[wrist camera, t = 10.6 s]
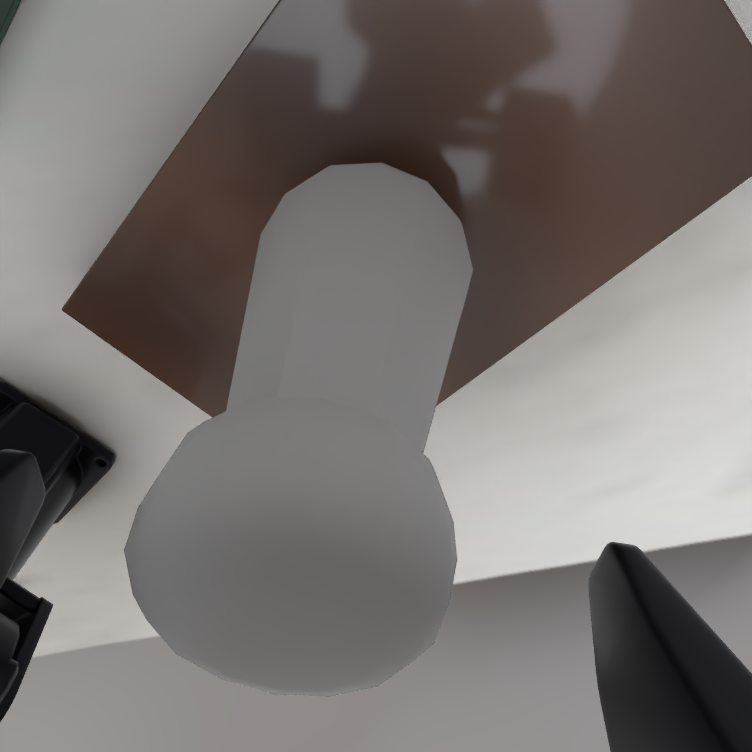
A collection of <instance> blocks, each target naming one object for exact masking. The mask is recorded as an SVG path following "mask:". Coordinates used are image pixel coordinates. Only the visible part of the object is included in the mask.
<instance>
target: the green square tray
mask: <svg viewBox="0 0 752 752" xmlns="http://www.w3.org/2000/svg"><path fill="white" fill-rule="evenodd" d="M19 2H20V0H0V43H1V41H2V39H3V37H4V35H5V33H6V30H7V28H8V26H9V24H10V22H11V20H12V17H13V15H14V13H15V11H16V9H17V7H18V4H19Z"/></svg>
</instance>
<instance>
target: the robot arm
mask: <svg viewBox="0 0 752 752" xmlns="http://www.w3.org/2000/svg"><path fill="white" fill-rule="evenodd" d="M114 462H115V456H114V455H113V454H112V453H111V452H110V451H108V450H107V449H105V448H104V447H102V446H101V445H99V444H98V443H96V442H94V441H93V440H91V439H90V438H88V437H87V436H85V435H83V434H82V433H80V432H79V431H77V430H76V429H74V428H72V427H71V426H69V425H68V424H66V423H65V422H63V421H61V420H60V419H58V418H57V417H55V416H54V415H52V414H51V413H49V412H47V411H46V410H44V409H43V408H41V407H40V406H38V405H36V404H35V403H33V402H32V401H30V400H29V399H27V398H25V397H24V396H22V395H21V394H19V393H18V392H16V391H15V390H13V389H11V388H10V387H8V386H7V385H5V384H4V383H2V382H0V722H1V720H2V719H3V717H4V716H5V714H6V712H7V711H8V709H9V707H10V706H11V704H12V702H13V700H14V698H15V696H16V694H17V692H18V689H19V686H20V684H21V682H22V679H23V677H24V675H25V672H26V670H27V667H28V665H29V663H30V660H31V658H32V655H33V653H34V650H35V648H36V646H37V643H38V641H39V638H40V636H41V633H42V631H43V629H44V626H45V624H46V621H47V619H48V617H49V614H50V612H51V609H52V607H53V604H52V603H50V602H49V601H47V600H46V599H44V598H43V597H41V598H38V597H37V596H35V595H34V594H32V593H31V592H29V591H28V590H26V589H25V588H23V587H22V586H20V585H19V584H17V583H16V582H14V581H13V579H14V577H15V576H16V575H17V573H18V572H19V571H20V569H21V568H22V566H23V565H24V564H25V562H26V561H27V559H28V558H29V557H30V555H31V554H32V552H33V551H34V550H35V548H36V547H37V545H38V544H39V543H40V541H41V540H42V538H43V537H44V536H45V534H46V533H47V531H48V530H49V529H50V527H51V526H52V525H53V524H54V523H58V522H59V521H60V520H61V519H62V518H63V517H64V516H65V515H66V514H67V513H68V512H69V511H70V510H71V509H72V508H73V507H74V506H75V505H76V503H77V502H78V501H79V500H80V499H81V498H82V497H83V496H84V495H85V494H86V493H87V492H88V491H89V490H90V489H91V488H92V487H93V486H94V485H95V484H96V483H97V482H98V481H99V480H100V479H101V478H102V477H103V476H104V475H105V474H106V473H107V472H108V471H109V470H110V468H111V467H112V465H113V464H114ZM588 588H589V599H590V610H591V621H592V632H593V643H594V653H595V665H596V674H597V683H598V690H599V694H600V700H601V706H602V711H603V715H604V721H605V726H606V731H607V735H608V741H609V746H610V751H611V752H752V673H751V672H750V671H749V670H748V669H747V668H746V667H745V666H744V665H743V663H742V662H741V661H740V660H739V659H738V658H737V657H736V656H735V654H734V653H733V652H732V651H731V650H730V649H729V648H728V647H727V646H726V644H725V643H724V642H723V641H722V640H721V639H720V638H719V637H718V635H717V634H716V633H715V632H714V631H713V630H712V629H711V628H710V627H709V625H708V624H707V623H706V622H705V621H704V620H703V619H702V618H701V617H700V615H699V614H698V613H697V612H696V611H695V610H694V609H693V608H692V606H691V605H690V604H689V603H688V602H687V601H686V600H685V599H684V598H683V596H682V595H681V594H680V593H679V592H678V591H677V590H676V589H675V588H674V586H673V585H672V584H671V583H670V582H669V581H668V580H667V579H666V577H665V576H664V575H663V574H662V573H661V572H660V571H659V570H658V569H657V568H656V567H655V565H654V564H653V563H652V562H651V561H650V560H649V558H648V557H647V556H646V555H645V554H644V553H643V552H642V551H641V550H640V549H639V548H638V547H636V546H634V545H629V544H623V543H616V542H611V543H609V544H607V545H606V547H605V548H604V550H603V552H602V553H601V555H600V557H599V559H598V561H597V562H596V564H595V566H594V568H593V570H592V571H591V574H590V577H589V585H588Z"/></svg>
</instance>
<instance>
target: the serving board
mask: <svg viewBox="0 0 752 752" xmlns="http://www.w3.org/2000/svg"><path fill="white" fill-rule="evenodd" d="M381 162H382V163H384V164H386V165H389V166H391V167H394V168H396V169H399V170H401V171H403V172H406V173H408V174H411V175H413V176H416V177H418V178H420V179H423V180H425V181H428V183H429V184H430V185H431V186H432V187H433V189H434V190H435V191H436V192H437V193H438V194H439V196H440V197H441V198H442V199H443V200H444V201H445V203H446V204H447V205H448V206H449V207H450V208H451V210H452V211H453V212H454V213H455V214H456V215H457V217H458V218H459V219H460V221H461V223H462V226H463V230H464V234H465V238H466V242H467V246H468V251H469V255H470V259H471V263H472V267H473V272H472V276H471V280H470V284H469V288H468V291H467V295H466V299H465V303H464V307H463V310H462V314H461V317H460V320H459V324H458V327H457V331H456V335H455V338H454V342H453V346H452V349H451V353H450V357H449V360H448V364H447V368H446V371H445V375H444V379H443V382H442V386H441V390H440V393H439V397H438V401H437V404H436V406H437V405H438V404H440V403H441V402H442V401H444V400H445V399H447V398H448V397H449V396H451V395H452V394H453V393H455V392H456V391H457V390H459V389H460V388H462V387H463V386H464V385H466V384H467V383H468V382H470V381H471V380H473V379H474V378H475V377H477V376H478V375H479V374H481V373H482V372H484V371H485V370H486V369H488V368H489V367H490V366H492V365H493V364H495V363H496V362H497V361H499V360H500V359H501V358H503V357H504V356H506V355H507V354H508V353H510V352H511V351H512V350H514V349H515V348H516V347H518V346H519V345H521V344H522V343H523V342H525V341H526V340H527V339H529V338H530V337H532V336H533V335H534V334H536V333H537V332H538V331H540V330H541V329H543V328H544V327H545V326H547V325H548V324H549V323H551V322H552V321H554V320H555V319H556V318H558V317H559V316H560V315H562V314H563V313H565V312H566V311H567V310H569V309H570V308H571V307H573V306H574V305H575V304H577V303H578V302H580V301H581V300H582V299H584V298H585V297H586V296H588V295H589V294H591V293H592V292H593V291H595V290H596V289H597V288H599V287H600V286H602V285H603V284H604V283H606V282H607V281H608V280H610V279H611V278H613V277H614V276H615V275H617V274H618V273H619V272H621V271H622V270H624V269H625V268H626V267H628V266H629V265H630V264H632V263H633V262H634V261H636V260H637V259H639V258H640V257H641V256H643V255H644V254H645V253H647V252H648V251H650V250H651V249H652V248H654V247H655V246H656V245H658V244H659V243H661V242H662V241H663V240H665V239H666V238H667V237H669V236H670V235H672V234H673V233H674V232H676V231H677V230H678V229H680V228H681V227H683V226H684V225H685V224H687V223H688V222H689V221H691V220H692V219H693V218H695V217H696V216H698V215H699V214H700V213H702V212H703V211H704V210H706V209H707V208H709V207H710V206H711V205H713V204H714V203H715V202H717V201H718V200H720V199H721V198H722V197H724V196H725V195H726V194H728V193H729V192H731V191H732V190H733V189H735V188H736V187H737V186H739V185H740V184H742V183H743V182H744V181H746V180H747V179H748V178H750V177H751V176H752V45H751V43H750V42H749V40H748V38H747V37H746V35H745V33H744V32H743V30H742V29H741V27H740V25H739V24H738V22H737V20H736V19H735V17H734V15H733V14H732V12H731V11H730V9H729V7H728V6H727V4H726V2H725V1H724V0H279V1H278V3H277V4H276V6H275V7H274V8H273V10H272V11H271V13H270V14H269V15H268V17H267V18H266V20H265V21H264V23H263V24H262V25H261V27H260V28H259V30H258V31H257V33H256V34H255V35H254V37H253V38H252V40H251V41H250V42H249V44H248V45H247V47H246V48H245V50H244V51H243V52H242V54H241V55H240V57H239V58H238V59H237V61H236V62H235V64H234V65H233V67H232V68H231V69H230V71H229V72H228V74H227V75H226V77H225V78H224V79H223V81H222V82H221V84H220V85H219V86H218V88H217V89H216V91H215V92H214V94H213V95H212V96H211V98H210V99H209V101H208V102H207V103H206V105H205V106H204V108H203V109H202V111H201V112H200V113H199V115H198V116H197V118H196V119H195V120H194V122H193V123H192V125H191V126H190V128H189V129H188V130H187V132H186V133H185V135H184V136H183V138H182V139H181V140H180V142H179V143H178V145H177V146H176V147H175V149H174V150H173V152H172V153H171V155H170V156H169V157H168V159H167V160H166V162H165V163H164V164H163V166H162V167H161V169H160V170H159V172H158V173H157V174H156V176H155V177H154V179H153V180H152V182H151V183H150V184H149V186H148V187H147V189H146V190H145V191H144V193H143V194H142V196H141V197H140V199H139V200H138V201H137V203H136V204H135V206H134V207H133V208H132V210H131V211H130V213H129V214H128V216H127V217H126V218H125V220H124V221H123V223H122V224H121V225H120V227H119V228H118V230H117V231H116V233H115V234H114V235H113V237H112V238H111V240H110V241H109V243H108V244H107V245H106V247H105V248H104V250H103V251H102V252H101V254H100V255H99V257H98V258H97V260H96V261H95V262H94V264H93V265H92V267H91V268H90V269H89V271H88V272H87V274H86V275H85V277H84V278H83V279H82V281H81V282H80V284H79V285H78V287H77V288H76V289H75V291H74V292H73V294H72V295H71V296H70V298H69V299H68V301H67V302H66V304H65V305H64V306H63V308H62V311H64V312H65V313H67V314H68V315H69V316H71V317H72V318H74V319H75V320H76V321H78V322H79V323H81V324H82V325H83V326H85V327H86V328H88V329H89V330H90V331H92V332H93V333H95V334H96V335H97V336H99V337H100V338H102V339H103V340H104V341H106V342H107V343H109V344H110V345H111V346H113V347H114V348H116V349H117V350H119V351H120V352H121V353H123V354H124V355H126V356H127V357H128V358H130V359H131V360H133V361H134V362H135V363H137V364H138V365H140V366H141V367H142V368H144V369H145V370H147V371H148V372H149V373H151V374H152V375H154V376H155V377H156V378H158V379H159V380H161V381H162V382H163V383H165V384H166V385H168V386H169V387H171V388H172V389H173V390H175V391H176V392H178V393H179V394H180V395H182V396H183V397H185V398H186V399H187V400H189V401H190V402H192V403H193V404H194V405H196V406H197V407H199V408H200V409H201V410H203V411H204V412H206V413H207V414H208V415H210V416H211V417H215V416H217V415H219V414H222V413H224V412H226V409H227V404H228V398H229V393H230V388H231V383H232V378H233V373H234V368H235V363H236V358H237V353H238V347H239V342H240V337H241V332H242V327H243V322H244V317H245V312H246V307H247V302H248V297H249V291H250V286H251V281H252V276H253V271H254V266H255V261H256V256H257V251H258V246H259V240H260V235H261V233H262V231H263V229H264V228H265V226H266V225H267V223H268V221H269V220H270V218H271V216H272V215H273V213H274V211H275V210H276V208H277V206H278V205H279V203H280V201H281V200H282V198H283V196H284V195H285V194H286V193H287V192H289V191H290V190H292V189H294V188H295V187H297V186H298V185H300V184H301V183H303V182H304V181H306V180H308V179H309V178H311V177H312V176H314V175H315V174H317V173H319V172H320V171H322V170H323V169H325V168H326V167H329V166H331V165H344V164H363V163H381Z"/></svg>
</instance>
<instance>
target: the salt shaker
mask: <svg viewBox="0 0 752 752" xmlns="http://www.w3.org/2000/svg"><path fill="white" fill-rule="evenodd" d="M472 272H473V267H472V263H471V259H470V255H469V251H468V246H467V242H466V238H465V234H464V230H463V226H462V223H461V221H460V219H459V218H458V217H457V215H456V214H455V213H454V212H453V211H452V210H451V208H450V207H449V206H448V205H447V204H446V203H445V201H444V200H443V199H442V198H441V197H440V196H439V194H438V193H437V192H436V191H435V190H434V189H433V187H432V186H431V185H430V184H429V183H428V181H425V180H423V179H420V178H418V177H416V176H413V175H411V174H408V173H406V172H403V171H401V170H399V169H396V168H394V167H391V166H389V165H386V164H384V163H382V162H381V163H363V164H344V165H331V166H329V167H326V168H325V169H323V170H322V171H320V172H319V173H317V174H315V175H314V176H312V177H311V178H309V179H308V180H306V181H304V182H303V183H301V184H300V185H298V186H297V187H295V188H294V189H292V190H290V191H289V192H287V193H286V194H285V195H284V196H283V198H282V200H281V201H280V203H279V205H278V206H277V208H276V210H275V211H274V213H273V215H272V216H271V218H270V220H269V221H268V223H267V225H266V226H265V228H264V229H263V231H262V233H261V235H260V240H259V246H258V251H257V256H256V261H255V266H254V271H253V276H252V281H251V286H250V291H249V297H248V302H247V307H246V312H245V317H244V322H243V327H242V332H241V337H240V342H239V347H238V353H237V358H236V363H235V368H234V373H233V378H232V383H231V388H230V393H229V398H228V404H227V409H226V412H224V413H222V414H219V415H217V416H215V417H213V418H211V419H209V420H207V421H205V422H203V423H202V424H200V425H199V426H197V427H196V428H194V429H193V430H191V431H190V432H188V433H187V435H186V436H185V438H184V439H183V441H182V442H181V444H180V445H179V446H178V448H177V449H176V451H175V452H174V454H173V455H172V457H171V458H170V460H169V461H168V462H167V464H166V465H165V467H164V468H163V470H162V471H161V473H160V475H159V476H158V478H157V479H156V481H155V482H154V484H153V485H152V487H151V488H150V490H149V491H148V493H147V494H146V496H145V497H144V499H143V501H142V502H141V504H140V505H139V507H138V509H137V512H136V515H135V518H134V522H133V525H132V528H131V531H130V534H129V537H128V540H127V543H126V546H125V549H124V552H125V557H126V562H127V567H128V572H129V577H130V582H131V587H132V592H133V596H134V598H135V599H136V601H137V603H138V605H139V607H140V609H141V610H142V612H143V614H144V616H145V618H146V619H147V621H148V622H149V623H150V624H151V626H152V627H153V628H154V629H155V630H156V631H157V633H158V634H159V635H160V636H161V637H162V638H163V639H164V641H165V642H166V643H167V644H168V645H169V646H170V648H171V649H172V650H173V651H174V652H175V653H176V654H177V655H179V656H181V657H183V658H184V659H186V660H188V661H190V662H192V663H193V664H195V665H197V666H199V667H201V668H203V669H204V670H206V671H208V672H210V673H211V674H213V675H215V676H217V677H219V678H221V679H223V680H226V681H230V682H233V683H237V684H241V685H244V686H248V687H251V688H255V689H258V690H262V691H265V692H269V693H272V694H282V695H304V696H326V697H328V696H334V695H339V694H344V693H348V692H353V691H358V690H363V689H368V688H373V687H377V686H379V685H380V684H382V683H383V682H384V681H386V680H387V679H388V678H390V677H392V676H393V675H394V674H396V673H397V672H399V671H400V670H402V669H403V668H404V667H406V666H407V665H409V664H410V663H411V662H412V661H414V660H415V659H416V658H417V657H418V656H420V655H421V654H422V653H423V652H424V651H426V650H427V649H428V648H429V647H431V645H433V644H434V642H435V639H436V636H437V634H438V631H439V629H440V626H441V624H442V621H443V618H444V616H445V613H446V611H447V608H448V606H449V601H450V597H451V591H452V585H453V579H454V574H455V568H456V562H457V555H456V544H455V533H454V522H453V519H452V516H451V514H450V511H449V508H448V505H447V503H446V500H445V497H444V494H443V492H442V489H441V486H440V484H439V481H438V478H437V475H436V473H435V471H434V469H433V466H432V464H431V462H430V460H429V459H428V458H427V457H426V456H425V455H424V454H423V452H424V449H425V445H426V441H427V437H428V434H429V430H430V426H431V423H432V419H433V415H434V412H435V408H436V404H437V401H438V397H439V393H440V390H441V386H442V382H443V379H444V375H445V371H446V368H447V364H448V360H449V357H450V353H451V349H452V346H453V342H454V338H455V335H456V331H457V327H458V324H459V320H460V317H461V314H462V310H463V307H464V303H465V299H466V295H467V291H468V288H469V284H470V280H471V276H472Z"/></svg>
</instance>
